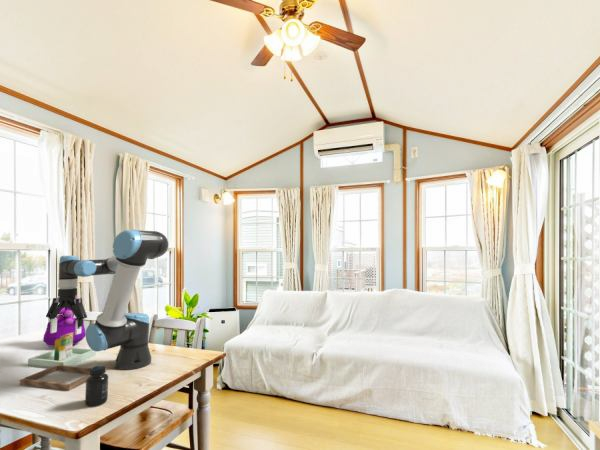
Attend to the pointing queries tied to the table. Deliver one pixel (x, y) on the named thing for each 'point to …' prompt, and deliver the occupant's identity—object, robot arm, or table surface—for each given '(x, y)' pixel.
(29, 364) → the sage tray
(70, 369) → the walnut frame
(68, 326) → the decorative plant
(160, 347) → the table surface
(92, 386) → the supplement bottle
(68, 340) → the crayon box
